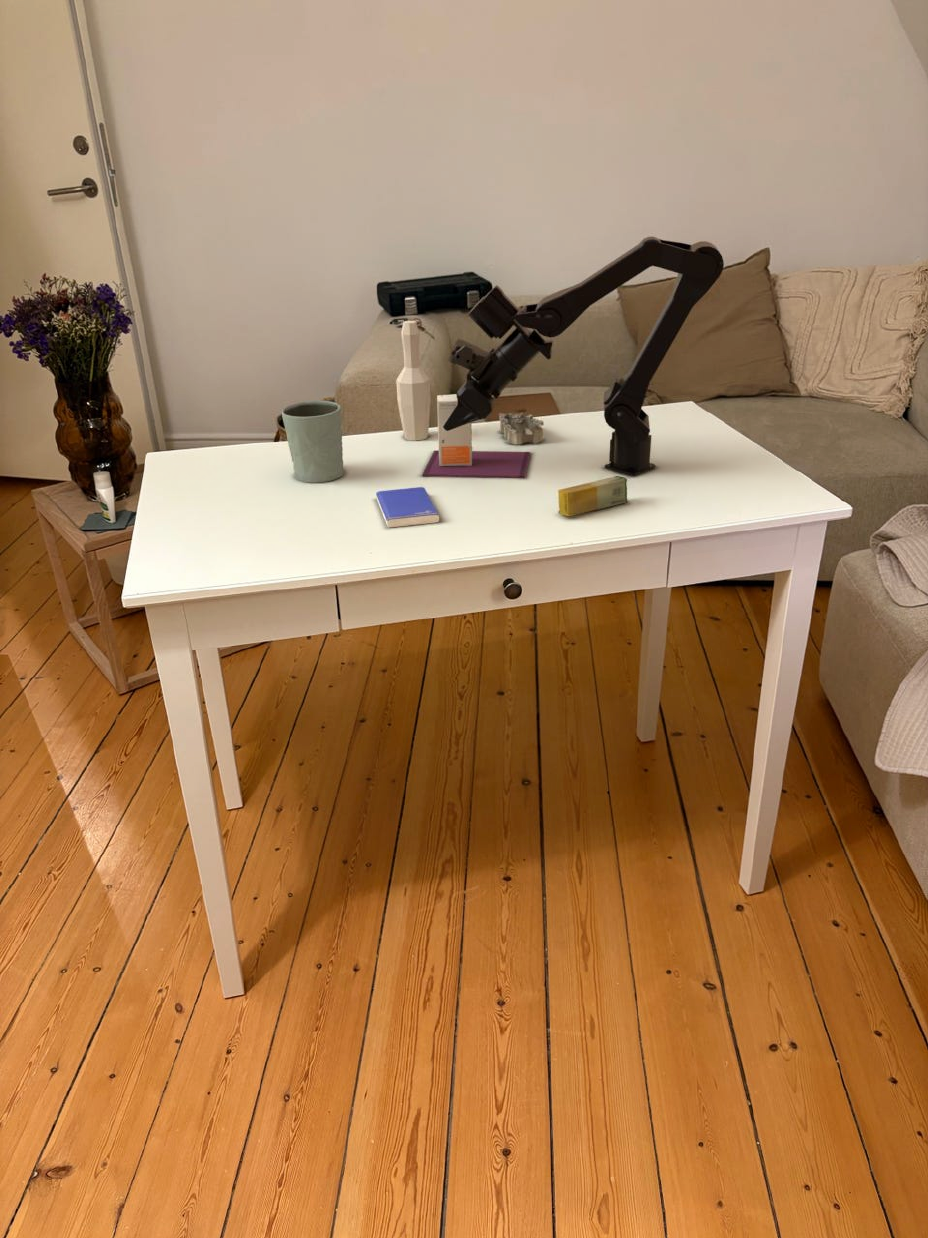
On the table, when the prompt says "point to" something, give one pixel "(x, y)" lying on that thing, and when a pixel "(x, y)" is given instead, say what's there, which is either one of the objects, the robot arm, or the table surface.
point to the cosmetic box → (453, 436)
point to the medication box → (592, 496)
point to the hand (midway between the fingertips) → (448, 421)
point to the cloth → (483, 465)
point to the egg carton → (521, 428)
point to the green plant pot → (315, 440)
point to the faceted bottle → (413, 387)
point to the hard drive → (407, 507)
